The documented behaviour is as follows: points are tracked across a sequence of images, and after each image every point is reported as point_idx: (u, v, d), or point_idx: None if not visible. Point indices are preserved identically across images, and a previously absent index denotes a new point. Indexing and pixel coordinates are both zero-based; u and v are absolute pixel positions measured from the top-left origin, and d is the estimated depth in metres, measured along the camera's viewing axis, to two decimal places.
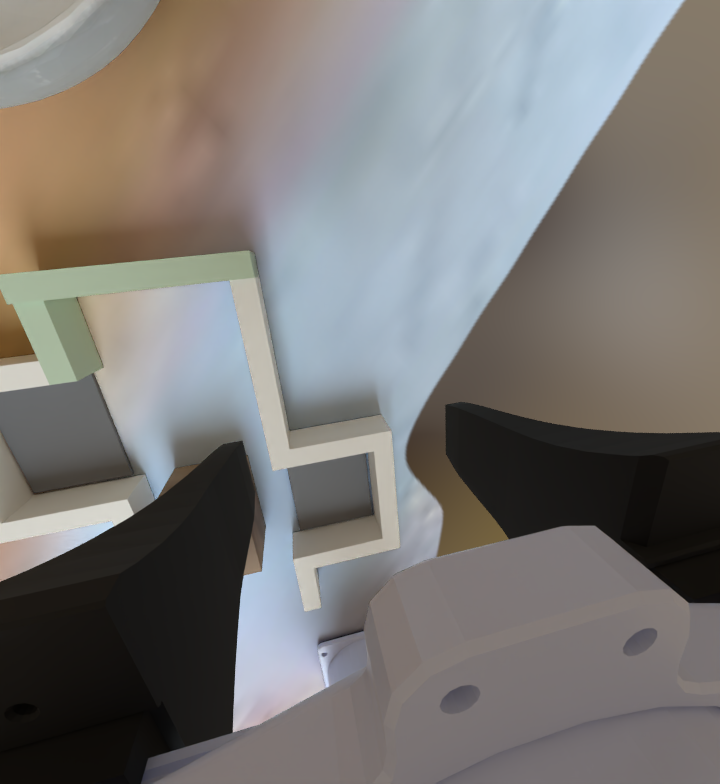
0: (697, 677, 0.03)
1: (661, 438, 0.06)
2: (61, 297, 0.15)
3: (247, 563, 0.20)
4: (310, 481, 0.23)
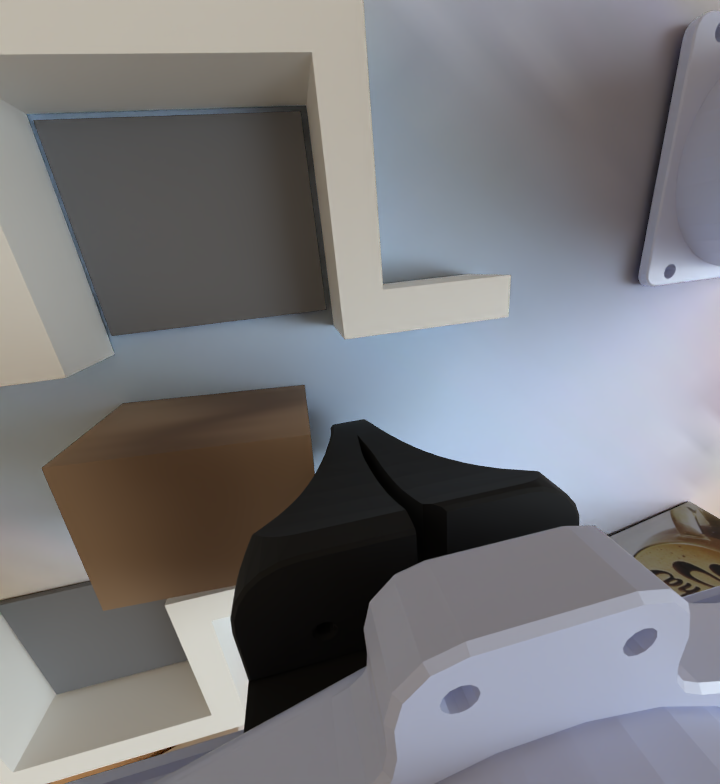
0: (697, 677, 0.03)
1: (485, 476, 0.06)
2: None
3: (279, 461, 0.09)
4: (189, 280, 0.10)
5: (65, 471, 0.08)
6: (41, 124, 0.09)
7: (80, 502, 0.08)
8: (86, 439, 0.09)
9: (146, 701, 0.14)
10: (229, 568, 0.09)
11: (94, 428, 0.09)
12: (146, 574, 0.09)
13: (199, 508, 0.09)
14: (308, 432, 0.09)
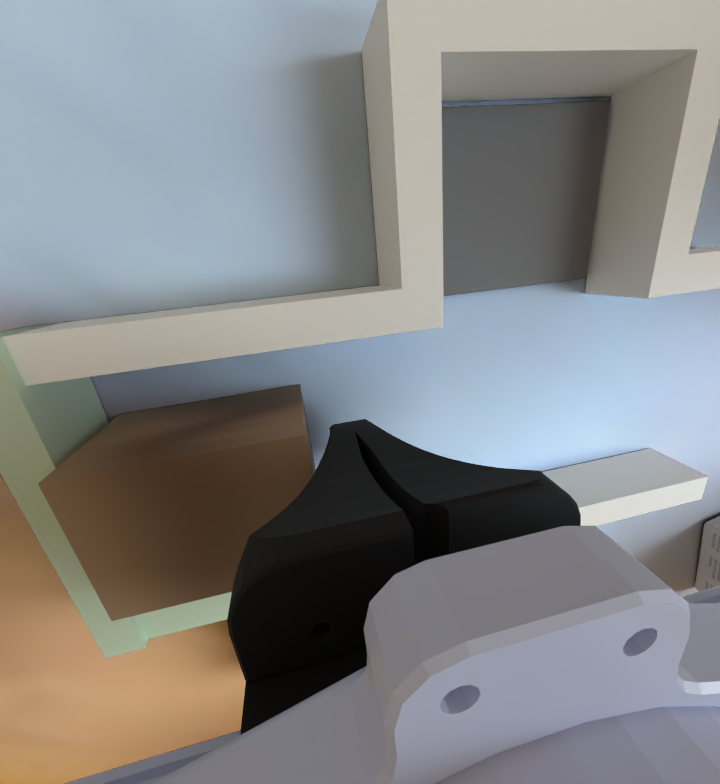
0: (697, 677, 0.03)
1: (487, 476, 0.06)
2: None
3: (276, 463, 0.09)
4: (491, 249, 0.12)
5: (62, 485, 0.08)
6: None
7: (78, 515, 0.08)
8: (82, 452, 0.09)
9: None
10: (234, 572, 0.09)
11: (91, 441, 0.09)
12: (151, 583, 0.09)
13: (199, 514, 0.09)
14: (303, 432, 0.09)
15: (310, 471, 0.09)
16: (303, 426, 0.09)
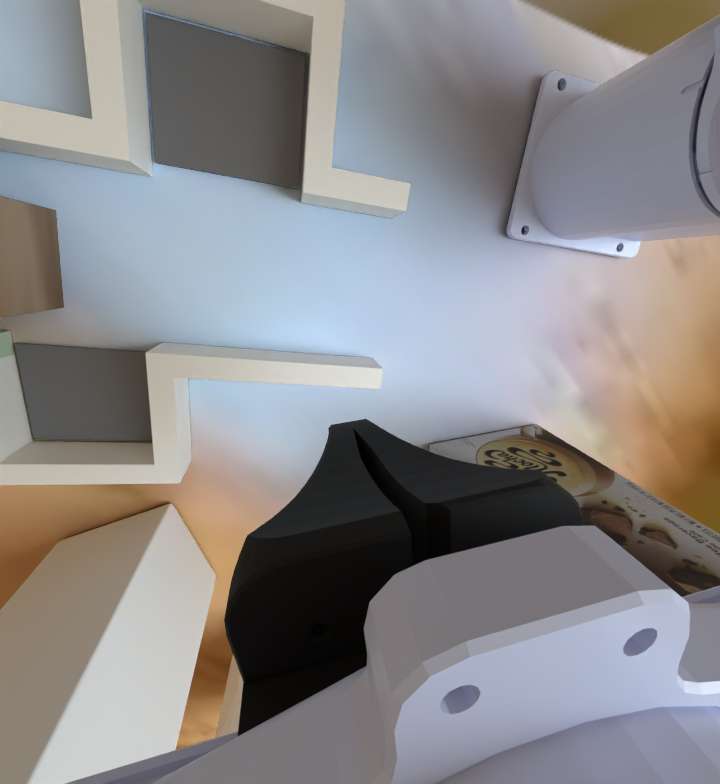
0: (697, 677, 0.03)
1: (488, 475, 0.06)
2: None
3: None
4: (214, 140, 0.16)
5: None
6: (148, 16, 0.14)
7: None
8: None
9: (105, 453, 0.19)
10: None
11: None
12: None
13: None
14: None
15: None
16: None
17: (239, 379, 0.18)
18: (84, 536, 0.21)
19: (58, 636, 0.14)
